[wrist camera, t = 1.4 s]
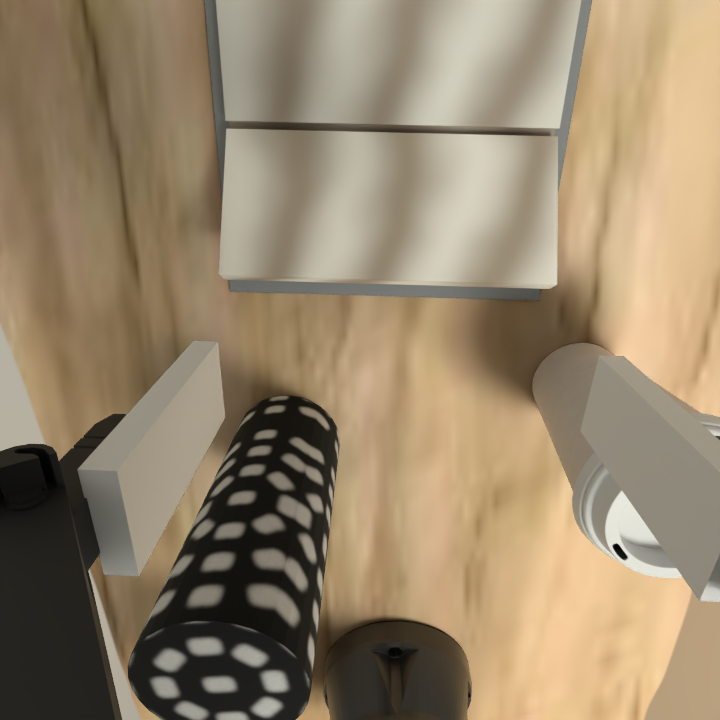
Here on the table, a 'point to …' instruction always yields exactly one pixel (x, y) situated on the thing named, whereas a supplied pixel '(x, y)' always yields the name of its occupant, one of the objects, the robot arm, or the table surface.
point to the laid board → (397, 65)
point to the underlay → (386, 288)
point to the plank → (390, 208)
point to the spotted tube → (247, 578)
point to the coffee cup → (597, 461)
